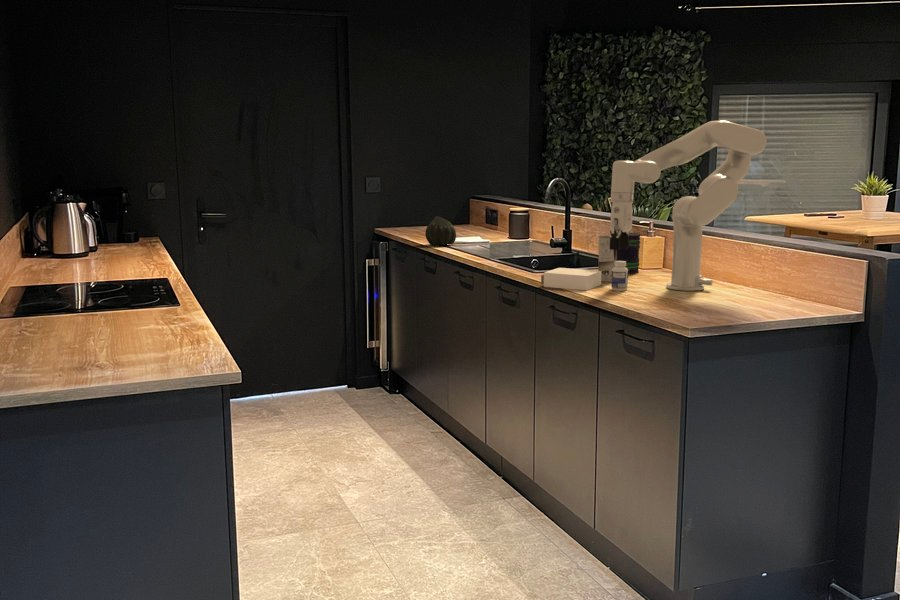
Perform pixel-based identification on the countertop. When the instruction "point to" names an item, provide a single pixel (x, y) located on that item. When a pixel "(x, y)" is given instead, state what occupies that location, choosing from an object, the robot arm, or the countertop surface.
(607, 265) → the coffee box
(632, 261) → the storage jar
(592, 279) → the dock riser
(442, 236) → the squash
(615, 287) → the pill bottle
